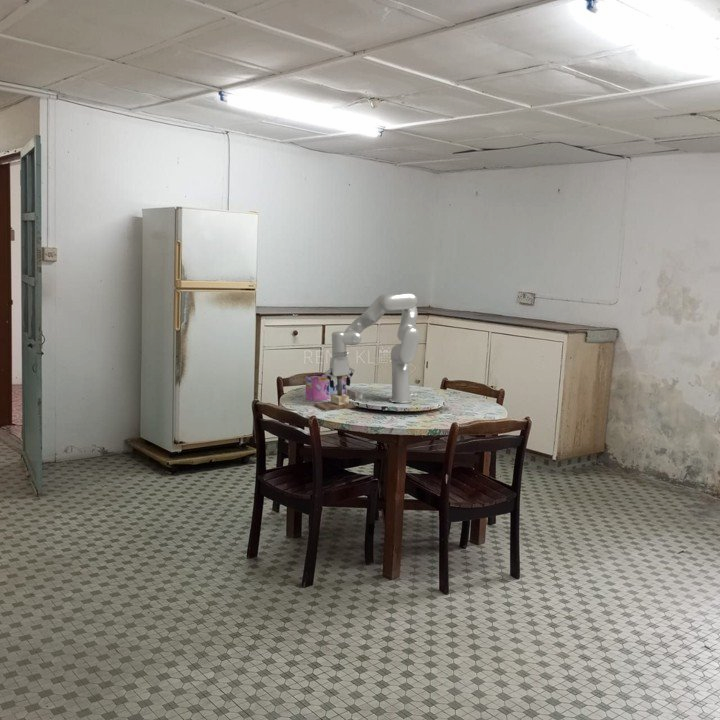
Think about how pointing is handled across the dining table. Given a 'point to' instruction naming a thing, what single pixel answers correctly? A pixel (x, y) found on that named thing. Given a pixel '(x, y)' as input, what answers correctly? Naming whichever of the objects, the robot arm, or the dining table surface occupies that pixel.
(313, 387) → the gum box
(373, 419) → the dining table surface
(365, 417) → the dining table surface
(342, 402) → the press jaw
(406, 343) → the robot arm
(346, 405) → the press bench
